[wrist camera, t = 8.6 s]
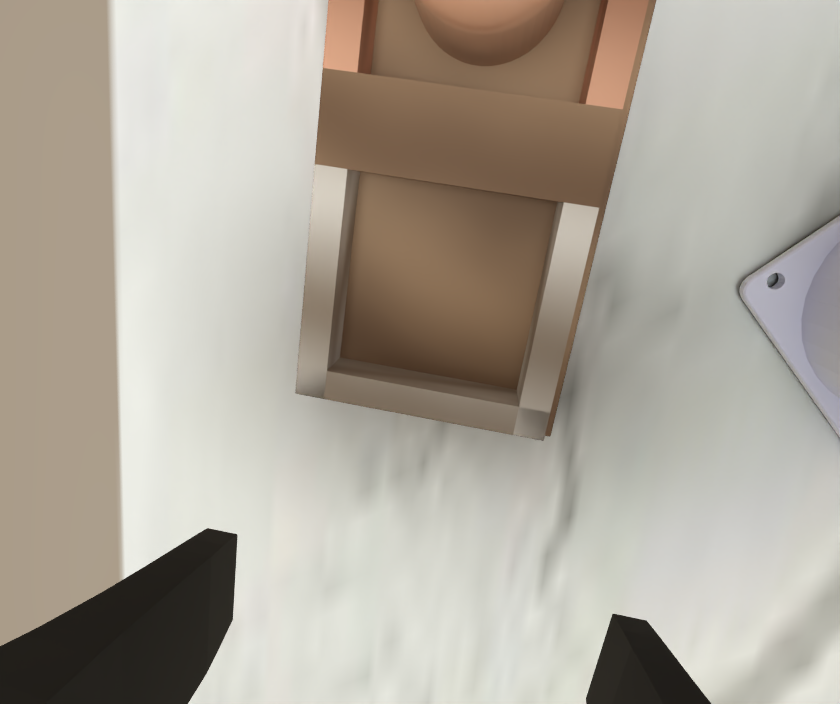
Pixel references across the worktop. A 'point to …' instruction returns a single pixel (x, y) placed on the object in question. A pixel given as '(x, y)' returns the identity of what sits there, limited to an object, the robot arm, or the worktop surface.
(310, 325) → the tray
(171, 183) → the worktop surface
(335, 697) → the worktop surface
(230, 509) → the worktop surface
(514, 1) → the tube
